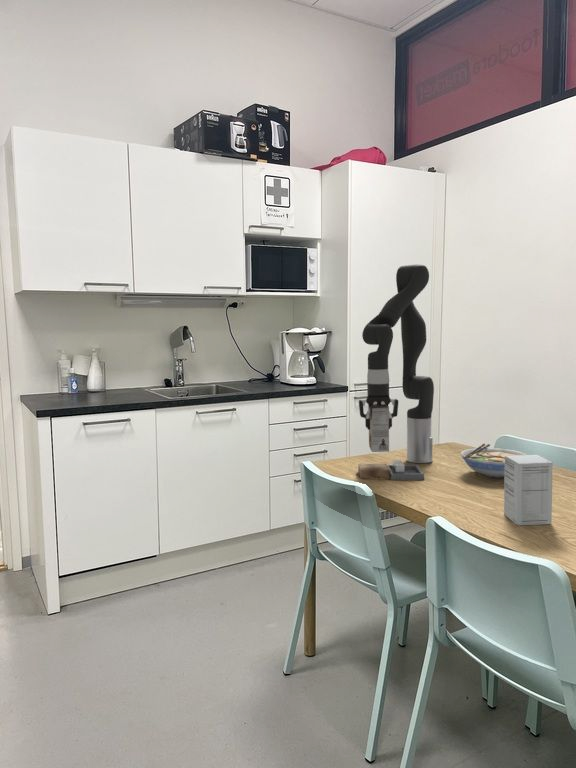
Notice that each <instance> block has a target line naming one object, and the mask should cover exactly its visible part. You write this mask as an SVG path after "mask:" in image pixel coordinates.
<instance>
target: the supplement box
mask: <svg viewBox="0 0 576 768" xmlns="http://www.w3.org/2000/svg"><path fill="white" fill-rule="evenodd" d="M553 464H554V463H553V462H552V461H550V460H548V459H546V458H545V457H542V456H540V455H538V454H527V455H519V456H505V477H503V478H504V479H503V480H504V483H503V484H504V486H503V487H504V491H503V492H504V493H503V494H504V495H503V500H504V501H503V503H504V504H503V513H504V514H503V515H504V516H505V517H507V519H508V520H510V521H511V522H512V523H514V524H515V525H516V524H517V525H516V526H537V525H539V526H540V525H541V526H542V525H552V517H553V515H552V512H553V509H552V507H553Z"/></svg>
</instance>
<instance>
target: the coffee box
mask: <svg viewBox="0 0 576 768" xmlns="http://www.w3.org/2000/svg"><path fill="white" fill-rule="evenodd" d="M367 405H368V404H367ZM367 408H368V409H369V410H370V417H369V419H370V429H369V430H368V446H369V449H370V451H371V452H372V453H381V452H382V453H383V452H386V453H387V452H390V429H389V412H390V407H389V405H370V406H369V405H368V407H367ZM368 409H367V410H368Z"/></svg>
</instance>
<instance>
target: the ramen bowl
mask: <svg viewBox="0 0 576 768" xmlns="http://www.w3.org/2000/svg"><path fill="white" fill-rule="evenodd" d="M490 446H491V444H490V443H488V444H486V443H482V444H480V445H478V447H475V448H468V449H465V450H462V451H461V452H460V456H461V458H462V459H463V461H464V462H465V464H466V465H467V466H468V467H469V468H470V469H471V470H473V471H474V472H476V473H479V474H482V475H483V476H484V475H485V476H484V477H487V478H493V477H494V479H498V478H499V479H500V477H501V478H504V477H505V456H519V455H528V454H527V453H525V452H523V451H522V452H521V451H518V450H514V449H507V448H496V447H495V448H494V447H490Z"/></svg>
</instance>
